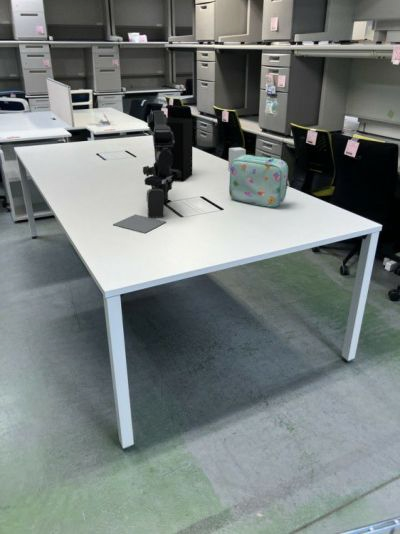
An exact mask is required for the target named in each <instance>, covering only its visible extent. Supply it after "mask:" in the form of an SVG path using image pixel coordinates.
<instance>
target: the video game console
mask: <svg viewBox="0 0 400 534" xmlns="http://www.w3.org/2000/svg"><path fill="white" fill-rule="evenodd" d="M193 120H194V119H193V118H182V117H181V118H180V117H167V126H169V127H170V130H171V131H172V132H173V134H174V141H175V145H174V148H170V152H171V154H172V156H173V162H172V165H171V166H170V169H176V170H180V171H181V172H182V177H180V178H177V177H176V176H172V177H171V179H172V180H174V182H185V181H186V180H187V179H188V178H190V177H192V176H193V135H194V134H193ZM170 141H171V140H170Z"/></svg>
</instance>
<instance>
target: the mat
mask: <svg viewBox="0 0 400 534" xmlns="http://www.w3.org/2000/svg"><path fill="white" fill-rule="evenodd" d="M166 223H168V222H167V221H166V220H160V219H157V218H154V217H148V216H144V215H139V214H137V213H135V214H133V215H130V216H128V217H126V218H124V219H122V220H120V221H117V222H115V223H113V224H112V226H114V227H117V228H121V229H126V230H130V231H135V232H138V233H142V234H147V233H149V232H151V231H153V230H155V229H157V228H159V227H162V226H163V225H164V224H166Z"/></svg>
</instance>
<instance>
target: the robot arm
mask: <svg viewBox="0 0 400 534" xmlns="http://www.w3.org/2000/svg"><path fill="white" fill-rule="evenodd" d="M167 118H168V115H167V114H165V111H163V110H153V111H151V113H150V114H148V115H147V123H146V125H147V127H148V129H149V133H150V134H151V136H152V141H153V143H152V144H153V148H154V149H153V151H154V163H153V166H149V165H147V166H143V167H142V173H143V175H145V176H146V177H145V179H144V185H145V186H150V187H151V188H150V189H161V190H163V192H164V205H167V204H169V203H171V202H172V201H171V199H169V191H171V190H172V189H173V184H174V183H175V181H174V180H172V179H171V177H172V176H176V177H177V178H180V177H182V172H181V171H180V170H176V169H170V166H171V165H172V162H173V156H172V154H171V152H170V148H174V145H175V141H174V134H173V132H172V131H171V130H170V127H169V126H167ZM170 140H171V141H170Z"/></svg>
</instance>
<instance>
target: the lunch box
mask: <svg viewBox="0 0 400 534" xmlns="http://www.w3.org/2000/svg"><path fill="white" fill-rule="evenodd" d="M288 175H289V166H288V164H287V162H286V161H284V160H283V159H279V158H275V157H263V156H258V155H257V156H256V155H252V154H246V155H242V156H240V157H239V158H237V159H235V160H233V161H232V163H231V167H230V170H229V182H228V183H229V186H228V190H229V191H228V192H229V196H230V198H231V199H232V200H234V201H237V202H243V203H248V204H251V205H253V204H254V205H253V206H263V207H266V206H267V207H266V208H276V207H279V206H280V204H281V203H283V202H284V200H285V199H286V195H287V191H288V190H287V189H288V187H290V182H289V178H288Z"/></svg>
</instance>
